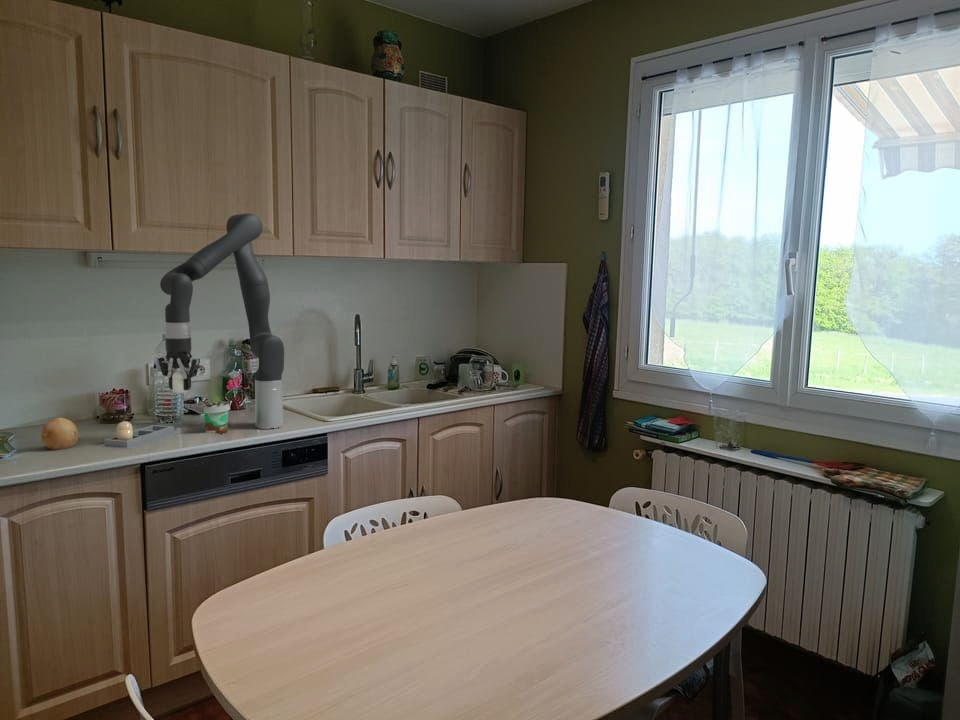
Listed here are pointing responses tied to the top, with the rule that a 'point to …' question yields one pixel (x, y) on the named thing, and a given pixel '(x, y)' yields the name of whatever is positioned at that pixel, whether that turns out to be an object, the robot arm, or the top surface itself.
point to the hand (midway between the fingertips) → (180, 389)
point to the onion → (59, 434)
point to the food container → (216, 417)
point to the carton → (141, 437)
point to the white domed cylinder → (178, 382)
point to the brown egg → (124, 431)
